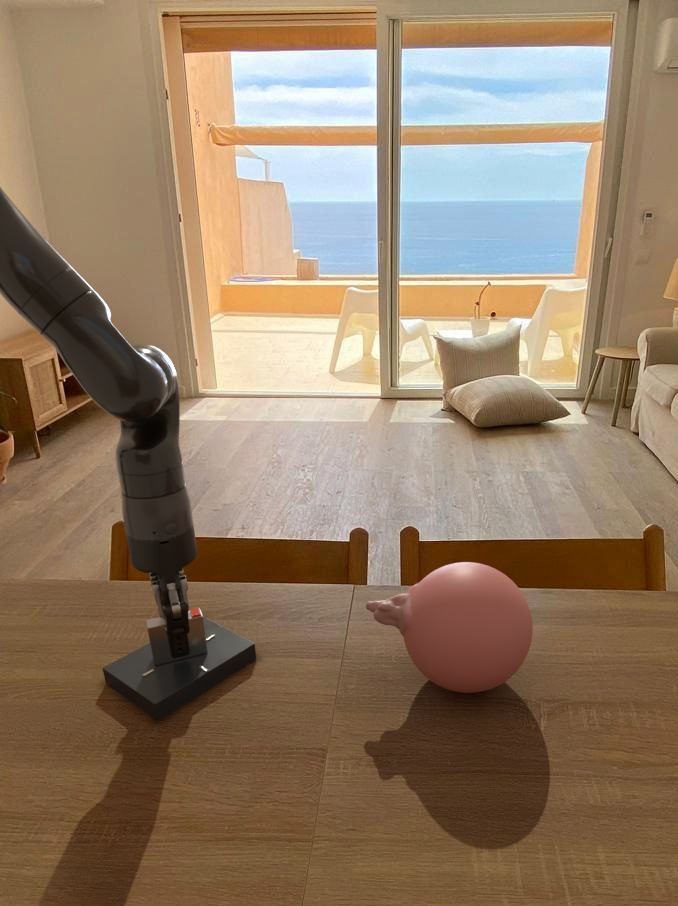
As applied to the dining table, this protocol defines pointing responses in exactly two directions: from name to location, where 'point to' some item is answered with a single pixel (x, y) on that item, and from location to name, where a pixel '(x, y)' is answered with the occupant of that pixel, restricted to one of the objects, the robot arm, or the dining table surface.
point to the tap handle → (161, 640)
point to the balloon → (462, 626)
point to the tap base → (178, 672)
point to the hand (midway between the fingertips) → (179, 649)
